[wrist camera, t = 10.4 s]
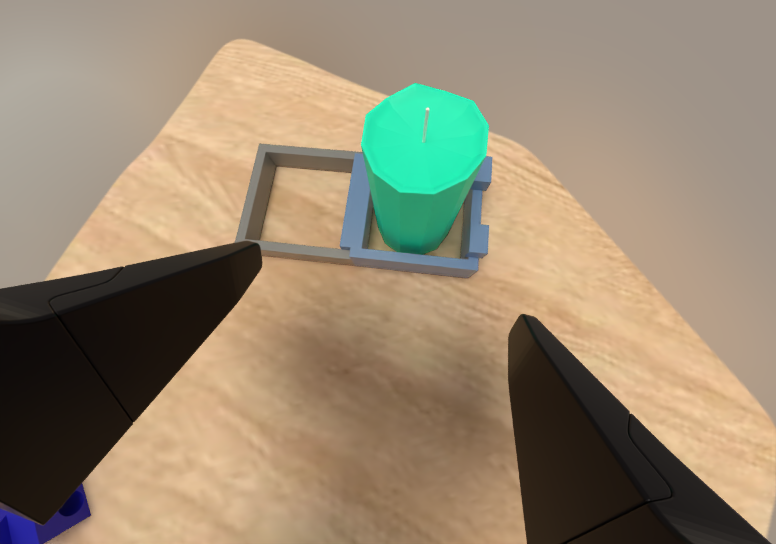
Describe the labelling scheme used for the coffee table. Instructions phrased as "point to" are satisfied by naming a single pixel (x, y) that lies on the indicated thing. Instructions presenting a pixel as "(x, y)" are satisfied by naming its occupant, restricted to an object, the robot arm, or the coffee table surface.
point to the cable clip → (26, 538)
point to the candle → (421, 163)
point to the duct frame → (357, 216)
